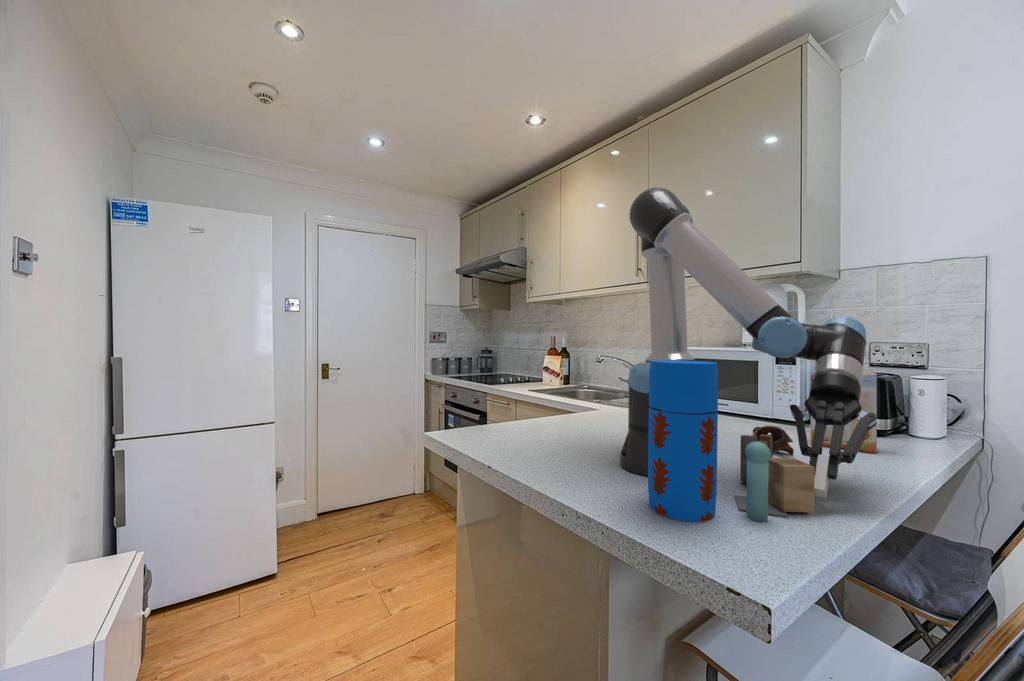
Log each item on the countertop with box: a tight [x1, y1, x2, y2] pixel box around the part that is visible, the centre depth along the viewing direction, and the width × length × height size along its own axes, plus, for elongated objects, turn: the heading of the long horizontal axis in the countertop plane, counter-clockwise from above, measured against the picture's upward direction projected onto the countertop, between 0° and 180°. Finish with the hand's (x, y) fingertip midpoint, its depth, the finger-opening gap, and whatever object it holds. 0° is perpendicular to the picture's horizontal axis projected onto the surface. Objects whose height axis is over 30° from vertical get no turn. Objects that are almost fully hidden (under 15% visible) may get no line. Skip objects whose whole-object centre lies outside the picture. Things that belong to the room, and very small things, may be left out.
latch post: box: [745, 442, 771, 523], centre depth 67 cm, size 4×4×12 cm
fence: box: [758, 434, 773, 458], centre depth 88 cm, size 2×10×8 cm, turn 134°
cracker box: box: [810, 370, 878, 454], centre depth 113 cm, size 14×6×21 cm, turn 49°
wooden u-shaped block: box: [739, 434, 815, 513], centre depth 76 cm, size 16×5×9 cm, turn 0°
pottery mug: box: [751, 425, 795, 456], centre depth 106 cm, size 12×10×8 cm
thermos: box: [647, 360, 719, 523], centre depth 70 cm, size 11×11×25 cm
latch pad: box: [733, 494, 789, 519], centre depth 71 cm, size 7×7×1 cm
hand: (819, 492), depth 69 cm, fingers closed
